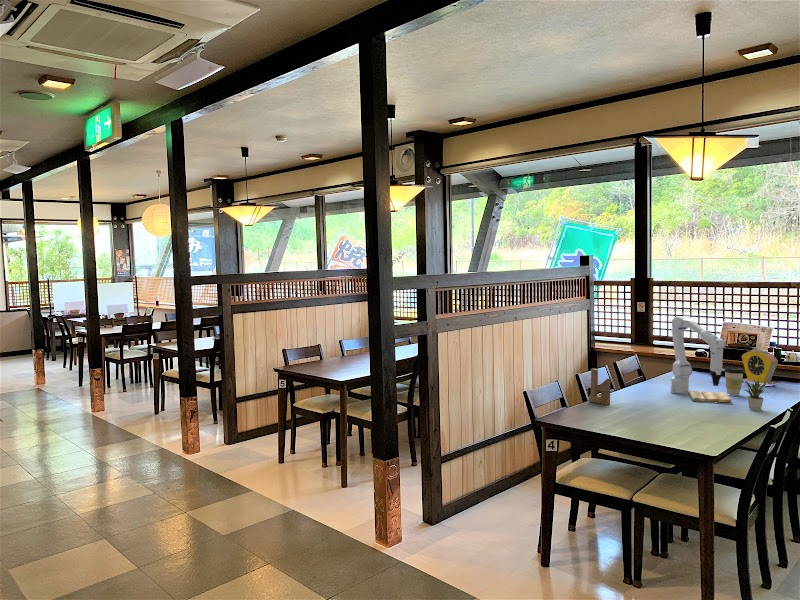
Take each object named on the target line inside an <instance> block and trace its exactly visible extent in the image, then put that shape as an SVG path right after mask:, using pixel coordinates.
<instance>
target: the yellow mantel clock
mask: <svg viewBox="0 0 800 600" xmlns="http://www.w3.org/2000/svg"><path fill="white" fill-rule="evenodd" d="M741 360H742V363H743V367H744V370H745V371H744V372H745V375H746V378H743V379H742V380H746V381H751V382H754V380H755V382H756V381H757V380H758V379H759V383H766V382H768V383H771V380H772V377H773V376H774V372H775V371H776V368H777V367H778V366H777V365H778V364H779V363H778V362H779V360H778V359H777V358H776V356H774V355H773V354H772V353H770V352H768V351H767V350H765V349H763V348H755V349H751V350H750V351H746V352H745V353H743V354H742V355H741ZM753 378H754V379H753ZM772 383H773V384H776V383H775V382H772Z"/></svg>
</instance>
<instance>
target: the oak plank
mask: <svg viewBox="0 0 800 600" xmlns="http://www.w3.org/2000/svg"><path fill="white" fill-rule="evenodd" d="M704 397H705V400H706V401H713V402H732V399H731V397H729V395H727V396H714V395H704Z"/></svg>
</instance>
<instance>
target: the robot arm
mask: <svg viewBox="0 0 800 600" xmlns="http://www.w3.org/2000/svg"><path fill="white" fill-rule="evenodd" d="M687 329H691V330H693V331H694V332H695V333H697V334H698V335H699V338H700V339H701V340H702V341H704V342H705V343H706V344H707V345H708V347H709V350H710V364H709V365H710V366H709V367H710V368H709V371H710V372H709V374H710V375H711V379H712V385H713V386H714V387H718V386H719V384H720V380H721V378H722V376H723V373H722V372H724V371H725V369H726V368H723V358H724V356H723V355H724V348H726V345H727V343H726V341H725V339H723V338H719V337H718V336H717V335H715V334H714V333H712V331H711V330H708V329H704V328H703V327H701V325H699V324H698V323H697V322H696V320H695V319H694V318H693V317H691V316H690V315H684V316H675V317H673V318H672V320H671V335H672V344H673V350H674V357H675V361H674V362H673V363H672V369H671V372H672V374H673V376H671V377H670V391H671V393H672V394H682V393H684V395H689V389H690V385H689V384H690V378H691V375H692V374H693V368H692V366H691V362H690V361H688V360H687V356H686V348H685V342H684V335H683V334H684V332H685V331H686V330H687Z"/></svg>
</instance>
